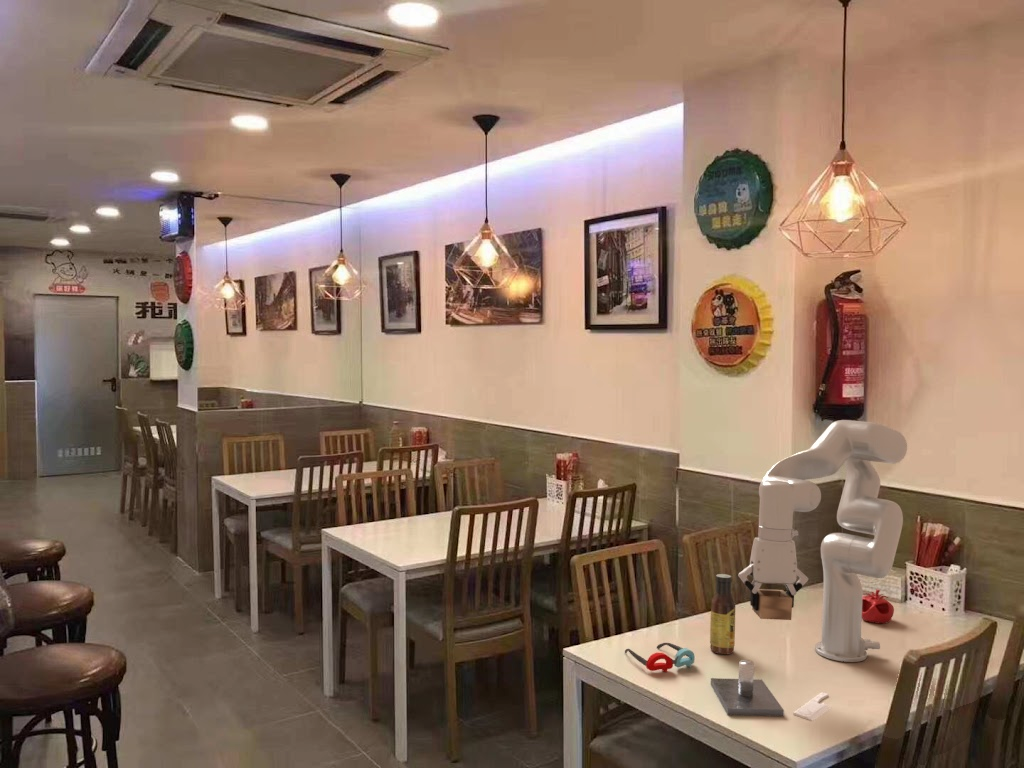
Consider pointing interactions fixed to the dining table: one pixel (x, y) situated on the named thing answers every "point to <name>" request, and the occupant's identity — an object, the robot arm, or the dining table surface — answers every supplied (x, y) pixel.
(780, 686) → the dining table surface
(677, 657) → the novelty glasses
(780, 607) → the wooden box
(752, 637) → the dining table surface
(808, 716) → the butcher knife
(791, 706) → the dining table surface
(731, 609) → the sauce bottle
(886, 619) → the red tomato container
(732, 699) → the post stand
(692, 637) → the dining table surface
